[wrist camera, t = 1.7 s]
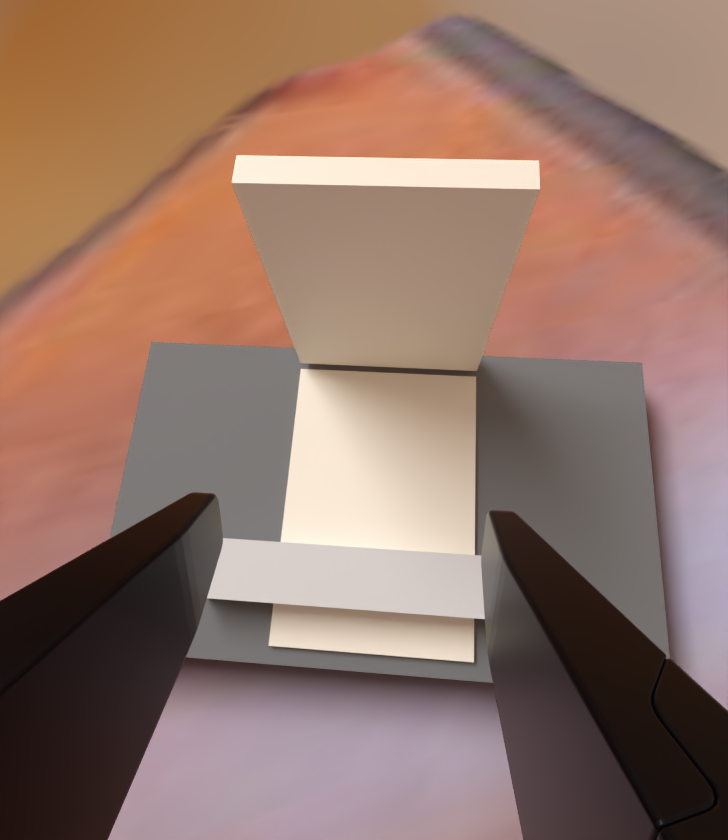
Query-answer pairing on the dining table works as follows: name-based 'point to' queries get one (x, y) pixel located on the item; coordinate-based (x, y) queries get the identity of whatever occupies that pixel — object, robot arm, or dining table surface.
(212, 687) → the dining table surface
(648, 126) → the dining table surface
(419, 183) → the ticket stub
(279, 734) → the dining table surface
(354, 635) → the board
